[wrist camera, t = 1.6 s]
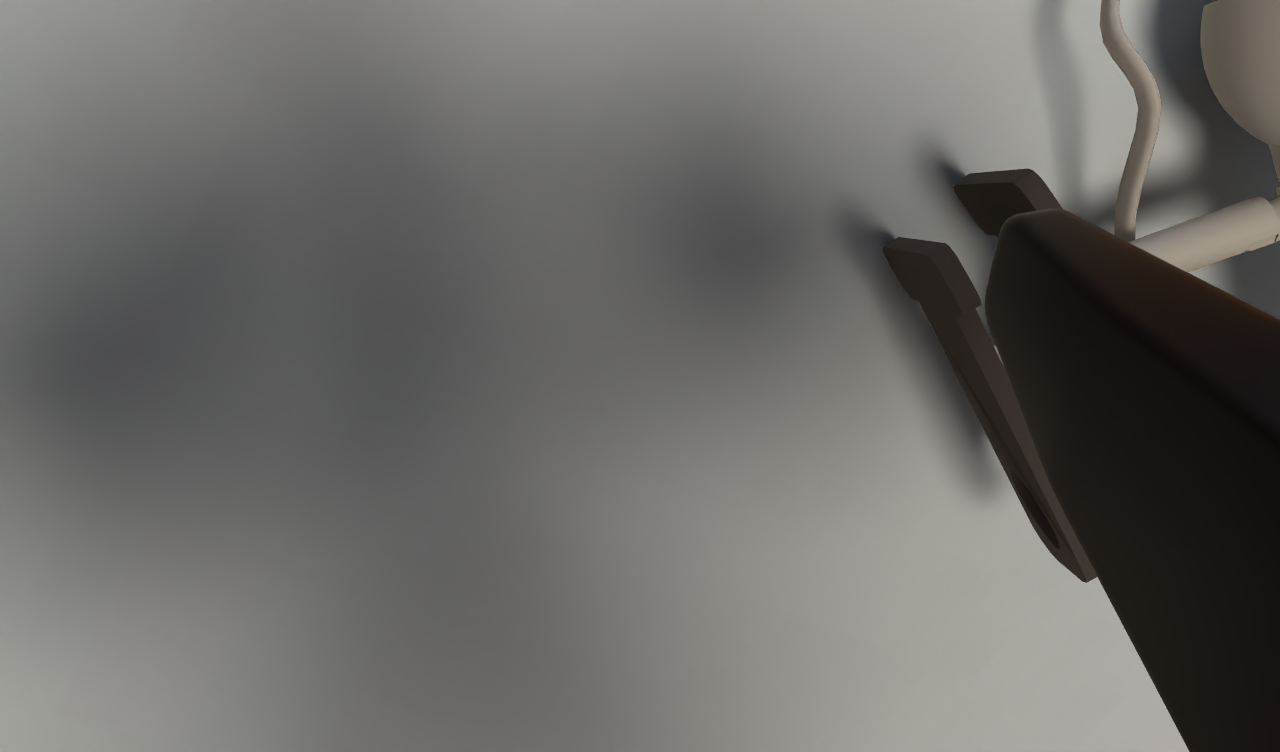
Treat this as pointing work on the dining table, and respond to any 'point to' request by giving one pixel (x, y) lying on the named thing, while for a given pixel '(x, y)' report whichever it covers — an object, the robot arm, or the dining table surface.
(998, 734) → the dining table surface
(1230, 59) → the clip-on lamp
